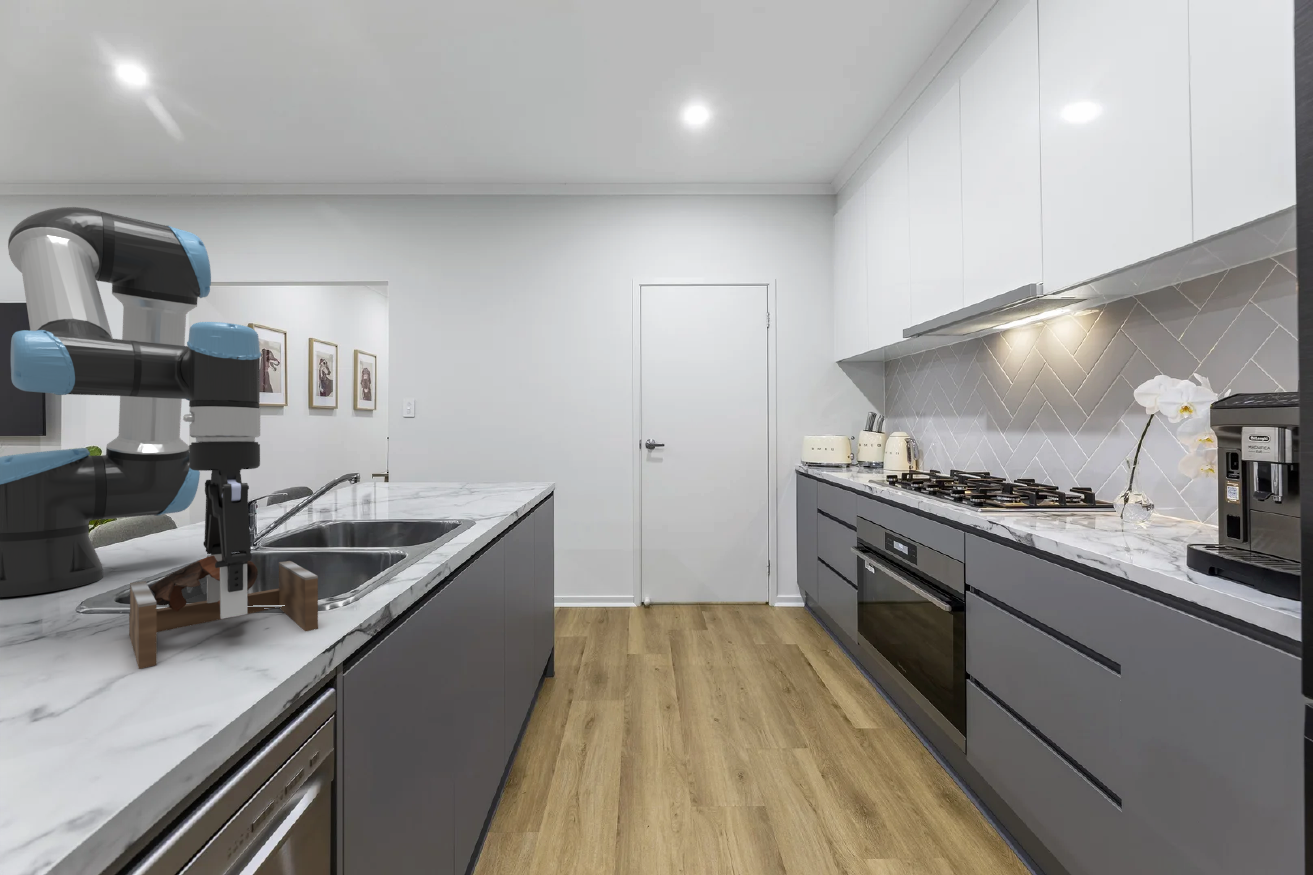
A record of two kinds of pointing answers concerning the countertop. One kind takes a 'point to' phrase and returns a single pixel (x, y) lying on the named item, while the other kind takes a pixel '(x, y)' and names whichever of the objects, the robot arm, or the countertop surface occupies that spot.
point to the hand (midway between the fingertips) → (226, 607)
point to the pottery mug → (192, 581)
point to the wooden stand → (148, 620)
